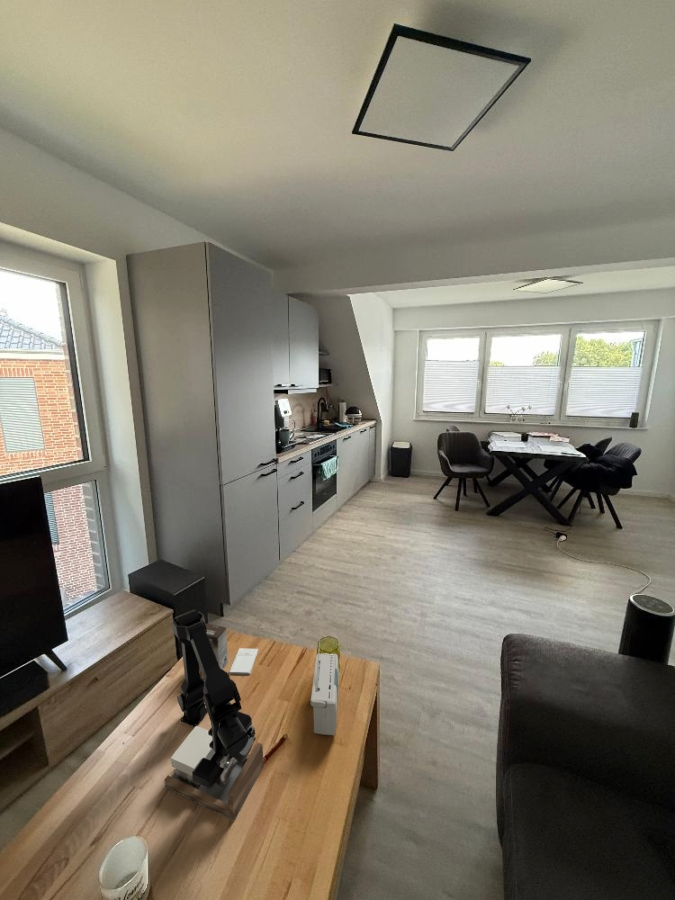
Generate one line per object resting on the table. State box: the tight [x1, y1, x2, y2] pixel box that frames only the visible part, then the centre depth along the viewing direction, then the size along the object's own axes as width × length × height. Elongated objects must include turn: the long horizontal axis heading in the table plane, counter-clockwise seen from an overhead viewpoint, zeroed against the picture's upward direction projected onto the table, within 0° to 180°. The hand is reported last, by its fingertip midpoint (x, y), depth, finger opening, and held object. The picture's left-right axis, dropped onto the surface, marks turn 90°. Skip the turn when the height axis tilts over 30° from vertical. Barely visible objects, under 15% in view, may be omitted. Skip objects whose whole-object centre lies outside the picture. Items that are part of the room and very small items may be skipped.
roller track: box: [164, 741, 264, 822], centre depth 101 cm, size 23×14×8 cm, turn 70°
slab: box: [170, 725, 215, 776], centre depth 103 cm, size 9×10×3 cm
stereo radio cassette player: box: [310, 639, 340, 736], centre depth 121 cm, size 21×8×20 cm, turn 178°
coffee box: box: [200, 623, 229, 670], centre depth 140 cm, size 9×6×16 cm
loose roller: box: [215, 755, 238, 786], centre depth 100 cm, size 4×6×4 cm, turn 160°
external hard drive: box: [228, 647, 259, 675], centre depth 143 cm, size 2×8×12 cm
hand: (226, 770), depth 100 cm, fingers closed on loose roller, 6 cm apart
